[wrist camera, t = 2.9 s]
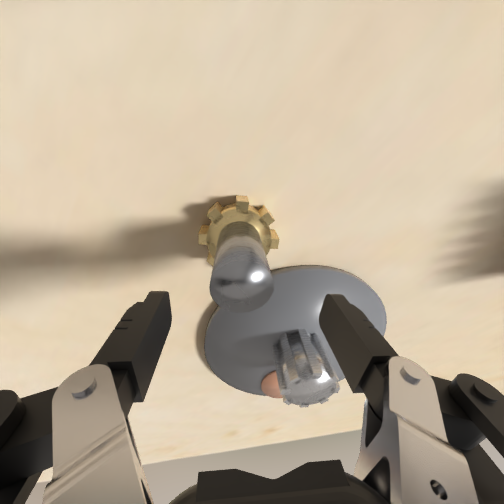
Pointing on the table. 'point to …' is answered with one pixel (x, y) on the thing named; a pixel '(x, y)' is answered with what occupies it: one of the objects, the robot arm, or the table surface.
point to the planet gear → (239, 254)
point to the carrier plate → (287, 336)
